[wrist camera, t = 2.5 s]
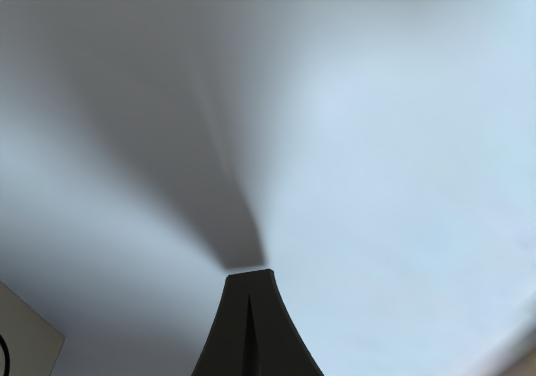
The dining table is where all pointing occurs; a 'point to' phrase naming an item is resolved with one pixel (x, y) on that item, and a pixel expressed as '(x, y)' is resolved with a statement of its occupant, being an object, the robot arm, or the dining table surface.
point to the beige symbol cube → (25, 339)
